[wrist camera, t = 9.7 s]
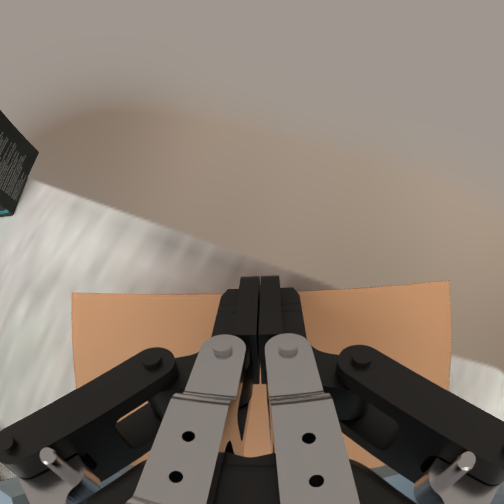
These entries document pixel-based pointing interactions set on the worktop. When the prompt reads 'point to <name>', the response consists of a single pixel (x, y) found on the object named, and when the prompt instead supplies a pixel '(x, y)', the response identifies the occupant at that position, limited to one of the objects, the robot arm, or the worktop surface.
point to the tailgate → (318, 334)
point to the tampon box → (13, 165)
